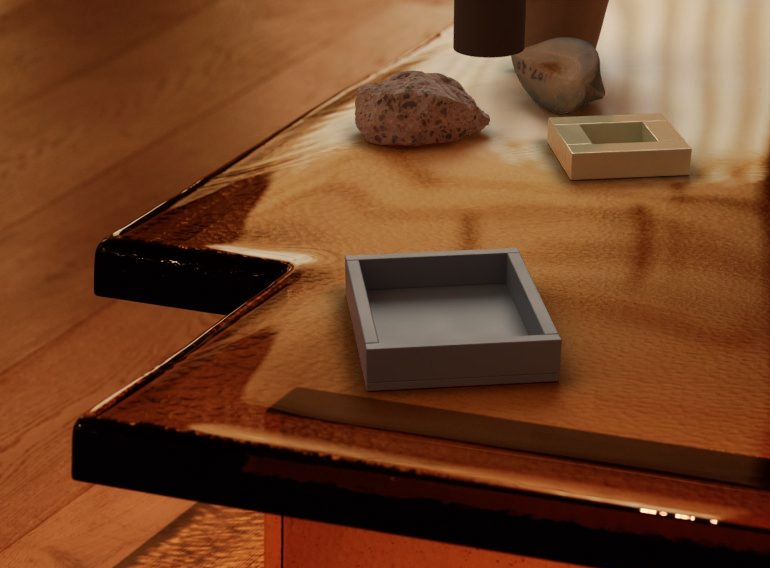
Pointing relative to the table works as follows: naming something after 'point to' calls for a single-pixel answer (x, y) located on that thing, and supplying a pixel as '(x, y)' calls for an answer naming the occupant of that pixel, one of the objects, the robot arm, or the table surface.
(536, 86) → the seashell
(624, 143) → the beige square tray
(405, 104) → the rock
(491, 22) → the dark brown tall cylinder
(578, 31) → the flower pot
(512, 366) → the grey tray
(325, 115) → the table surface
